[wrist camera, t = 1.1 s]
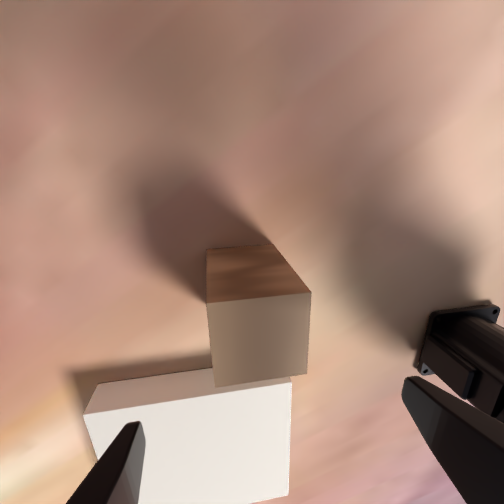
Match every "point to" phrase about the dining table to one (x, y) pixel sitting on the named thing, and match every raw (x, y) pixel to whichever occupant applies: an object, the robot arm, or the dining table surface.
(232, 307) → the walnut block
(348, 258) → the dining table surface
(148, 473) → the base block
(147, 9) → the dining table surface
